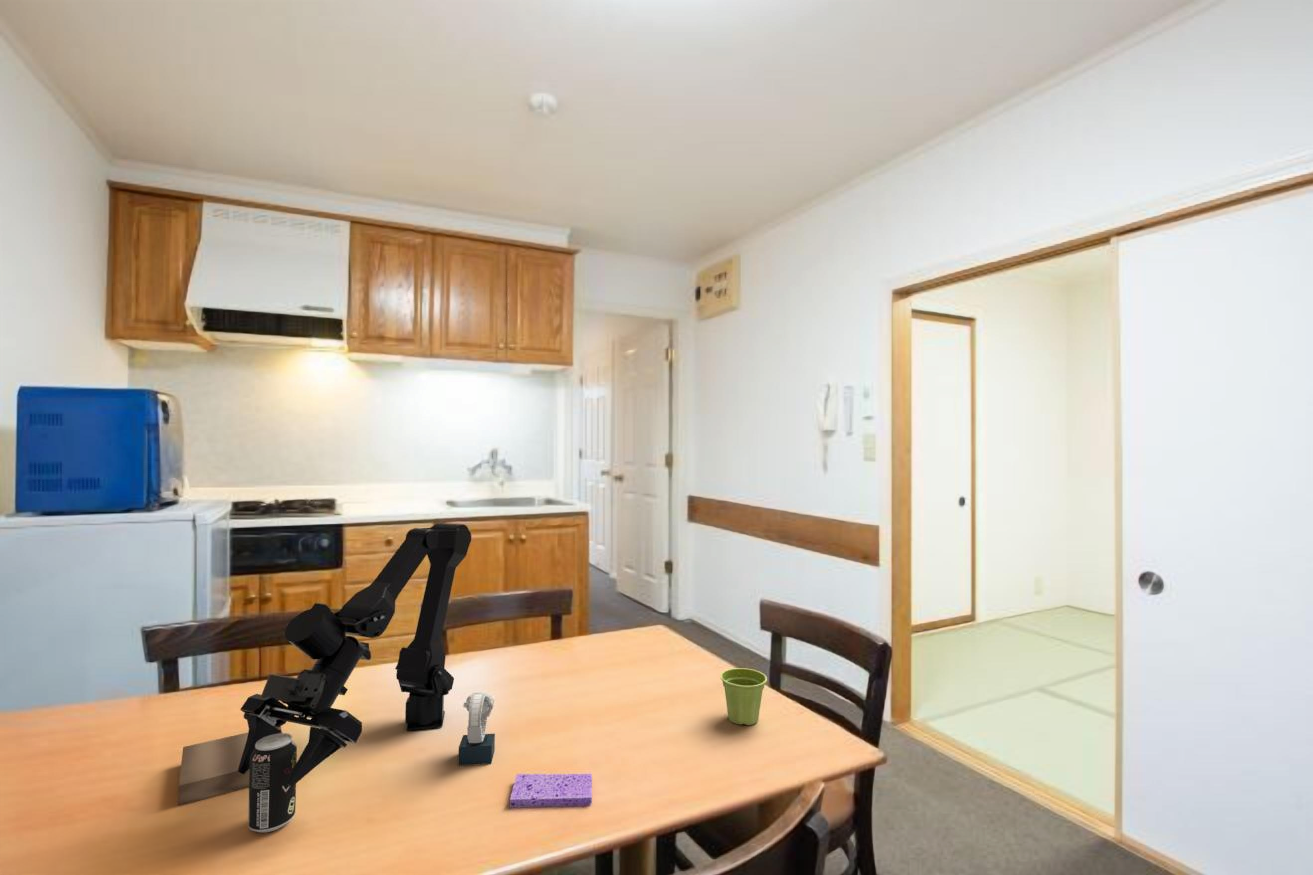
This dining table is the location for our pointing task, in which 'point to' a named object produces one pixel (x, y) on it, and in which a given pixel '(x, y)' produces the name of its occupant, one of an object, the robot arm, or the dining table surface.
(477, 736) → the watch
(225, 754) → the walnut block
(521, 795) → the sponges
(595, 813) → the dining table surface
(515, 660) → the dining table surface
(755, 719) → the plant pot
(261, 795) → the beverage can
